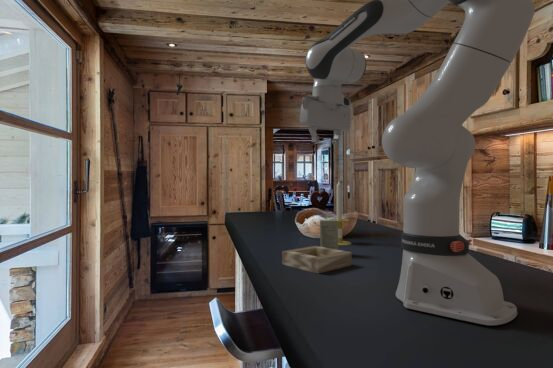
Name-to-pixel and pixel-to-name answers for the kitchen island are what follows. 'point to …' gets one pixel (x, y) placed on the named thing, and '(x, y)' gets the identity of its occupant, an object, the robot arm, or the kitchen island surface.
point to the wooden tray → (317, 259)
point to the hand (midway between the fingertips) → (325, 143)
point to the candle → (340, 215)
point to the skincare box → (329, 234)
